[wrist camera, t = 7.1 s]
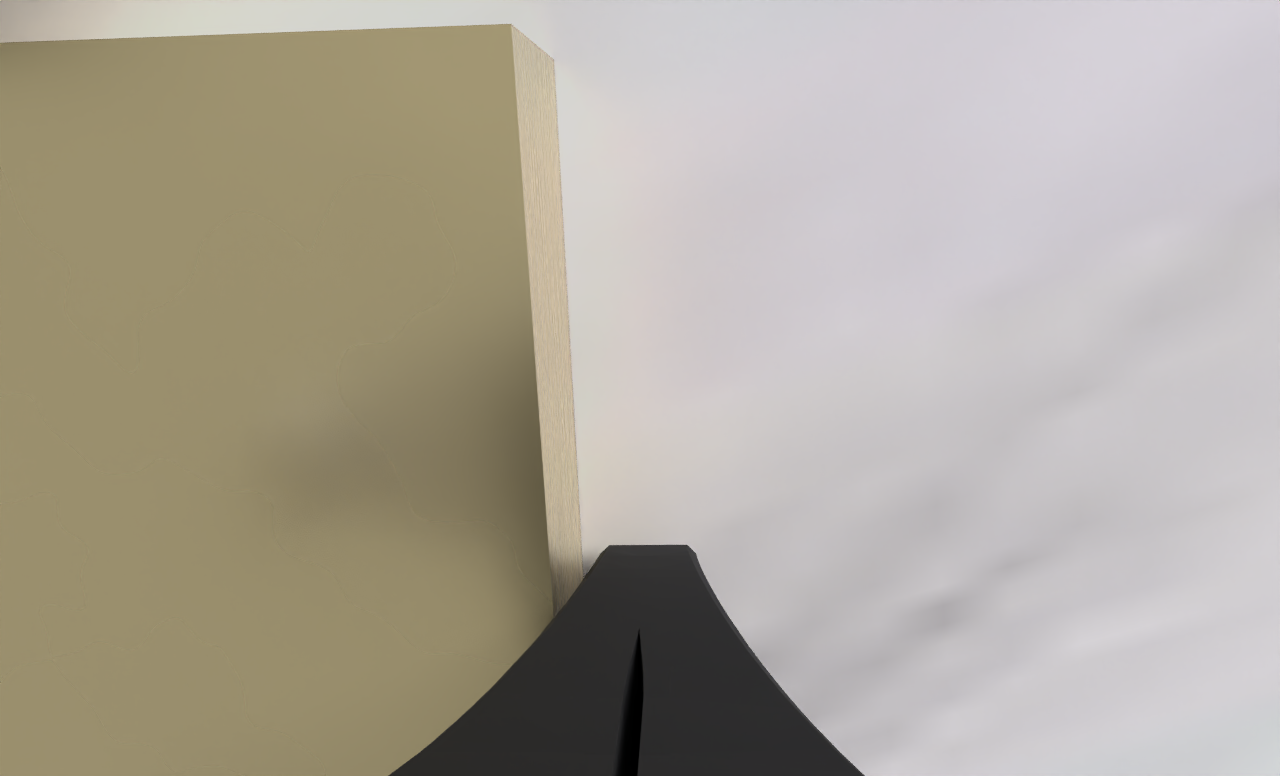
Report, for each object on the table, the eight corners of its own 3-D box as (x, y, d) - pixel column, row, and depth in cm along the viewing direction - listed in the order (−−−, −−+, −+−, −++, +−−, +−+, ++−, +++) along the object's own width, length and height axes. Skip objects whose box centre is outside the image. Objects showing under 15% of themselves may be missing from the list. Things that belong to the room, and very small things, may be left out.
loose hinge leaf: (603, 924, 12) (581, 1179, 9) (-1, 916, 13) (-213, 1157, 10) (554, 59, 8) (488, 5, 5) (-310, 89, 9) (-825, 55, 6)
